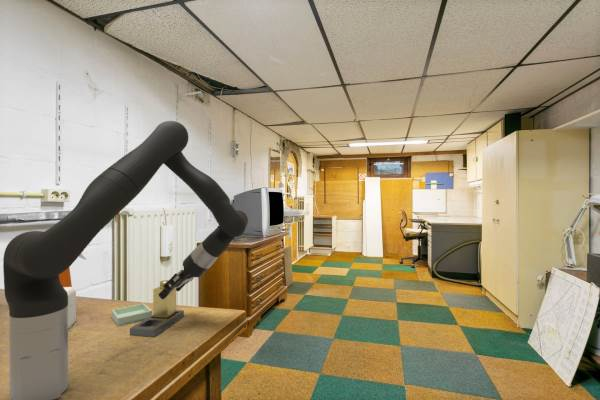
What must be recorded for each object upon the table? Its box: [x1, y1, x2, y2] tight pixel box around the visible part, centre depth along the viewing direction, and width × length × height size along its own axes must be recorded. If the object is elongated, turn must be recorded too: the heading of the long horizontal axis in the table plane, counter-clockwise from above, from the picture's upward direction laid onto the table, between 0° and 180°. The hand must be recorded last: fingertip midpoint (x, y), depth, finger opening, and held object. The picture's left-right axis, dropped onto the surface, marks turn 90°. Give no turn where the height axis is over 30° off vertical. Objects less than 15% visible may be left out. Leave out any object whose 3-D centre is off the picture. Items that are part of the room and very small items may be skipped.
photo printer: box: [63, 286, 77, 329], centre depth 96 cm, size 10×4×12 cm, turn 17°
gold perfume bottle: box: [152, 279, 177, 319], centre depth 101 cm, size 5×5×13 cm
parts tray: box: [111, 303, 153, 327], centre depth 104 cm, size 10×10×2 cm
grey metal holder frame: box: [129, 309, 185, 338], centre depth 98 cm, size 8×16×2 cm, turn 171°
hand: (168, 293), depth 101 cm, fingers open, 8 cm apart
